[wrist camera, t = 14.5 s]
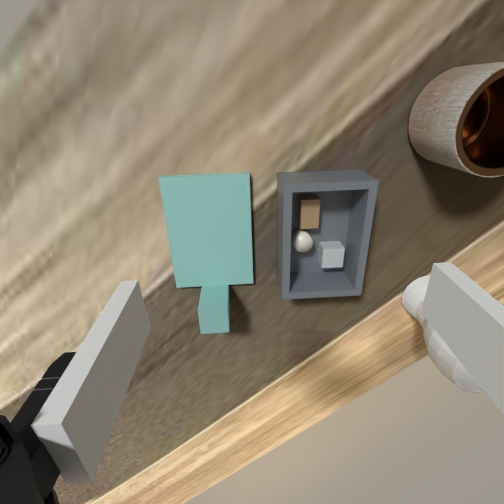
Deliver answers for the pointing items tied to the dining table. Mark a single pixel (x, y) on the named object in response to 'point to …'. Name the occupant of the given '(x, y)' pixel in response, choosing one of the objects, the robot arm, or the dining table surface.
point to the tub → (323, 232)
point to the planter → (462, 119)
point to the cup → (436, 338)
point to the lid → (209, 238)
